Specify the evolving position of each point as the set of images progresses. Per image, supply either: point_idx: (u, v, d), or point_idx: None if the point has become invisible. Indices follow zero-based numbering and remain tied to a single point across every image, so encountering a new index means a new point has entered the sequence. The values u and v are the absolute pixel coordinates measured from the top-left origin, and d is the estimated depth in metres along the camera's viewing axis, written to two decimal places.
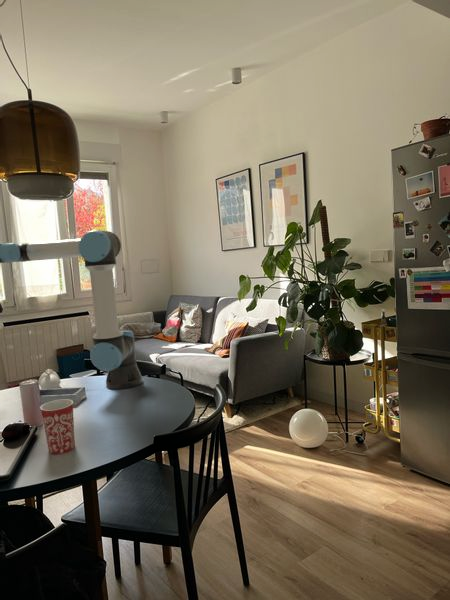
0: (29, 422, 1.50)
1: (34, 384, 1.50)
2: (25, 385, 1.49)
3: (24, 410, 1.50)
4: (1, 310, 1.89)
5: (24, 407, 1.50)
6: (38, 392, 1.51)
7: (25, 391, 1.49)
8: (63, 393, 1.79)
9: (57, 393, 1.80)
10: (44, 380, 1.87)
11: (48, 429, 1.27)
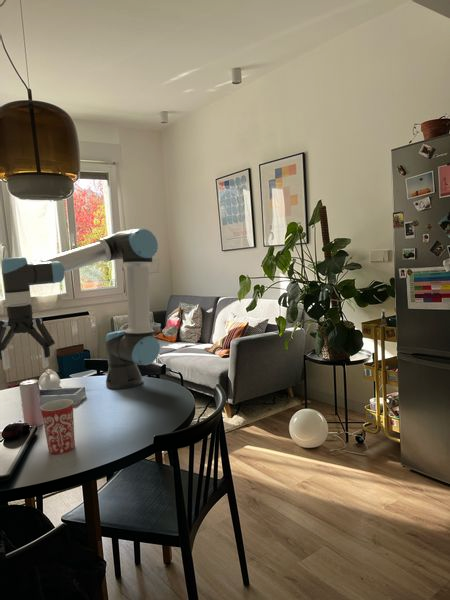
0: (29, 422, 1.50)
1: (34, 384, 1.50)
2: (25, 385, 1.49)
3: (24, 410, 1.50)
4: (45, 345, 1.47)
5: (24, 407, 1.50)
6: (38, 392, 1.51)
7: (25, 391, 1.49)
8: (63, 393, 1.79)
9: (57, 393, 1.80)
10: (44, 380, 1.87)
11: (48, 429, 1.27)
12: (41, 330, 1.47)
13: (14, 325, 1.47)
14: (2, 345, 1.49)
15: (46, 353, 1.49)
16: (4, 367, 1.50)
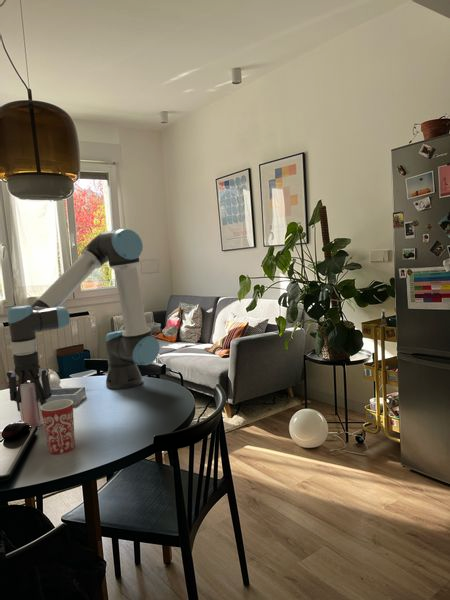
0: (29, 422, 1.50)
1: (34, 384, 1.50)
2: (25, 385, 1.49)
3: (24, 410, 1.50)
4: (42, 399, 1.50)
5: (24, 407, 1.50)
6: None
7: (25, 391, 1.49)
8: (63, 393, 1.79)
9: (57, 393, 1.80)
10: None
11: (48, 429, 1.27)
12: (43, 382, 1.50)
13: (21, 373, 1.49)
14: (18, 396, 1.51)
15: None
16: (22, 419, 1.52)
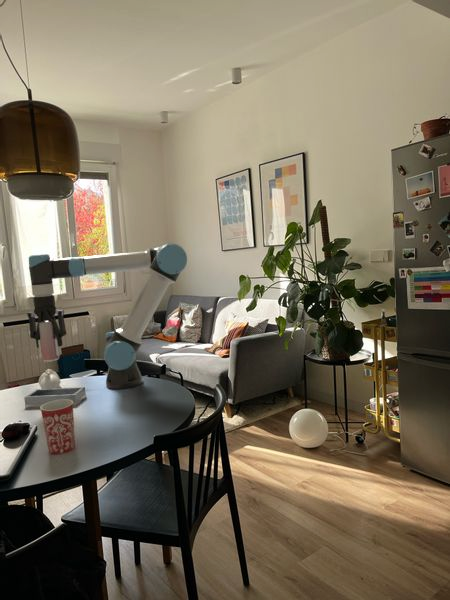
0: (47, 356, 1.71)
1: (51, 323, 1.71)
2: (43, 323, 1.70)
3: (42, 346, 1.71)
4: (58, 336, 1.71)
5: (42, 343, 1.71)
6: None
7: (44, 329, 1.70)
8: (63, 393, 1.79)
9: (57, 393, 1.80)
10: (44, 380, 1.87)
11: (48, 429, 1.27)
12: (60, 321, 1.71)
13: (40, 313, 1.70)
14: (37, 334, 1.72)
15: (59, 343, 1.72)
16: (40, 354, 1.73)
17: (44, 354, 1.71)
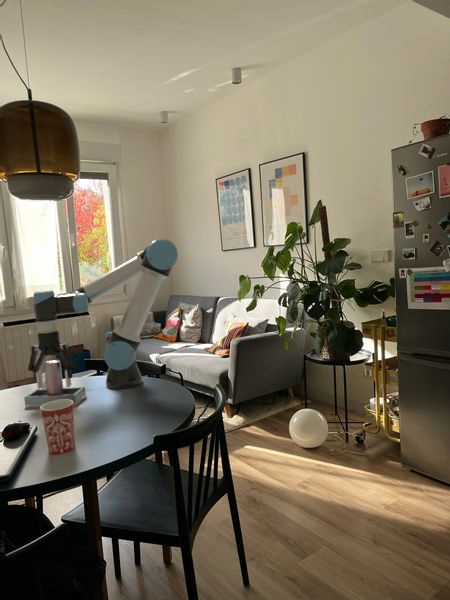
0: None
1: (57, 363, 1.73)
2: (49, 364, 1.71)
3: (48, 386, 1.73)
4: (68, 368, 1.72)
5: (47, 383, 1.72)
6: (60, 371, 1.74)
7: (49, 370, 1.71)
8: None
9: None
10: (44, 380, 1.87)
11: (48, 429, 1.27)
12: (66, 354, 1.72)
13: (44, 349, 1.72)
14: (36, 367, 1.74)
15: (69, 374, 1.73)
16: (38, 386, 1.74)
17: (49, 394, 1.73)
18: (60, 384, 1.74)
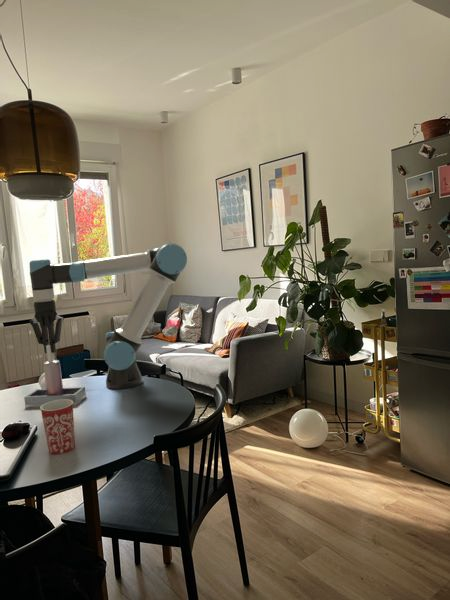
0: None
1: (56, 363, 1.73)
2: (48, 364, 1.71)
3: (47, 386, 1.73)
4: (52, 343, 1.72)
5: (47, 383, 1.72)
6: (59, 371, 1.74)
7: (49, 370, 1.71)
8: None
9: None
10: (44, 380, 1.87)
11: (48, 429, 1.27)
12: (57, 328, 1.71)
13: (40, 318, 1.70)
14: (44, 339, 1.72)
15: (52, 349, 1.73)
16: (48, 360, 1.73)
17: (49, 394, 1.73)
18: (60, 384, 1.74)
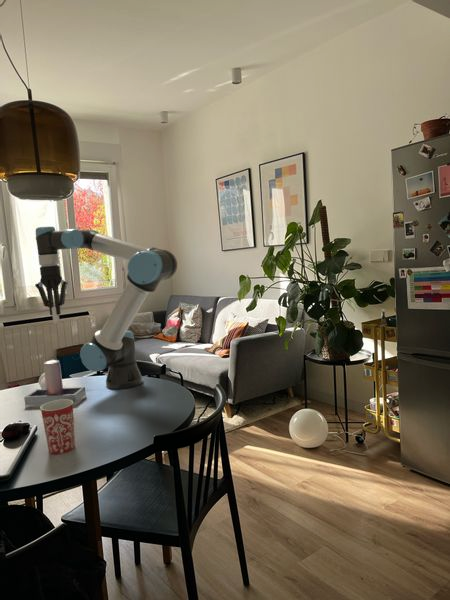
0: None
1: (56, 363, 1.73)
2: (48, 364, 1.71)
3: (47, 386, 1.73)
4: (57, 305, 1.83)
5: (47, 383, 1.72)
6: (59, 371, 1.74)
7: (49, 370, 1.71)
8: None
9: None
10: (44, 380, 1.87)
11: (48, 429, 1.27)
12: (62, 291, 1.83)
13: (46, 281, 1.82)
14: (50, 302, 1.84)
15: (57, 311, 1.85)
16: (54, 321, 1.84)
17: (49, 394, 1.73)
18: (60, 384, 1.74)
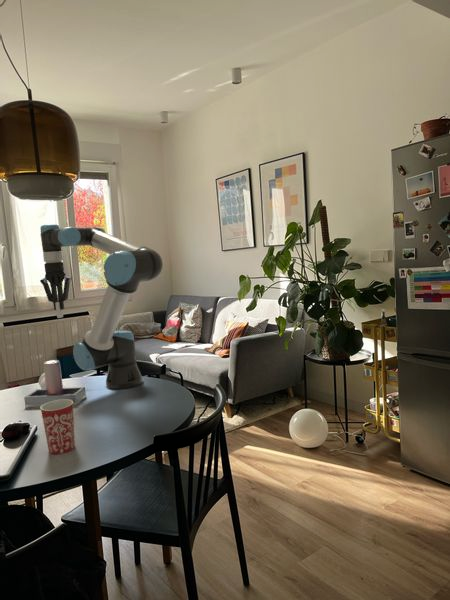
0: None
1: (56, 363, 1.73)
2: (48, 364, 1.71)
3: (47, 386, 1.73)
4: (60, 300, 1.90)
5: (47, 383, 1.72)
6: (59, 371, 1.74)
7: (49, 370, 1.71)
8: None
9: None
10: (44, 380, 1.87)
11: (48, 429, 1.27)
12: (65, 286, 1.90)
13: (50, 277, 1.89)
14: (54, 297, 1.91)
15: (61, 306, 1.91)
16: (57, 316, 1.91)
17: (49, 394, 1.73)
18: (60, 384, 1.74)
